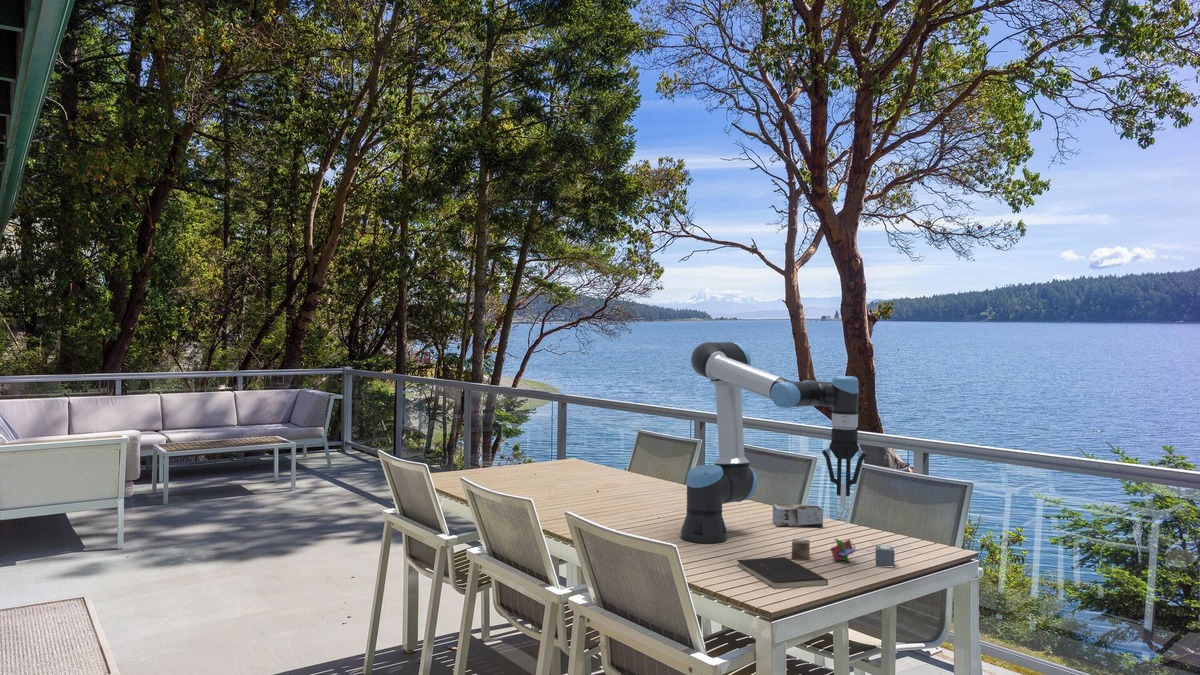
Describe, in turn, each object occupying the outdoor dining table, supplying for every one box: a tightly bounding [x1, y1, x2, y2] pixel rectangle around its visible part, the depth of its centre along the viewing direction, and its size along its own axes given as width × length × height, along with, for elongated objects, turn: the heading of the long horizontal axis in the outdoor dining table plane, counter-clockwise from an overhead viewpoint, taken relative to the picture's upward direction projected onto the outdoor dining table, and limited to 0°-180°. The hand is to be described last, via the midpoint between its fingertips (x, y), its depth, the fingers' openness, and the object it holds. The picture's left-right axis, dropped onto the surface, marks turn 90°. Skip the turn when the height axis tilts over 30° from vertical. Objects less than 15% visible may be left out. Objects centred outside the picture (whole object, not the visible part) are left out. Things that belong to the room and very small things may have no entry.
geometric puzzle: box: [830, 538, 857, 564], centre depth 253 cm, size 7×7×8 cm
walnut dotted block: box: [791, 538, 811, 561], centre depth 256 cm, size 5×5×5 cm
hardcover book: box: [736, 556, 828, 589], centre depth 237 cm, size 16×23×2 cm
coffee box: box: [772, 503, 824, 528], centre depth 302 cm, size 9×6×16 cm
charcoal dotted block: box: [874, 545, 895, 568], centre depth 250 cm, size 5×5×5 cm
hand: (842, 506), depth 253 cm, fingers closed
